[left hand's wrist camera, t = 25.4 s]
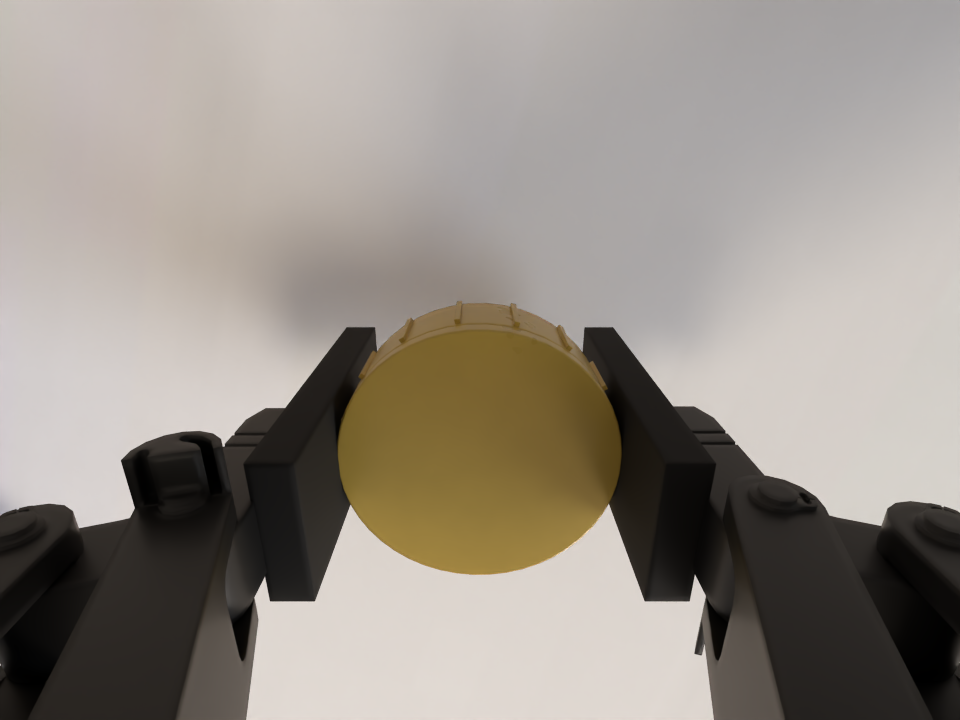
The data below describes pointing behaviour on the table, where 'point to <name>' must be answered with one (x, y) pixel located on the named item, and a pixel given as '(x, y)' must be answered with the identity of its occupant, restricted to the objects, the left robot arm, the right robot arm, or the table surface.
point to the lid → (479, 441)
